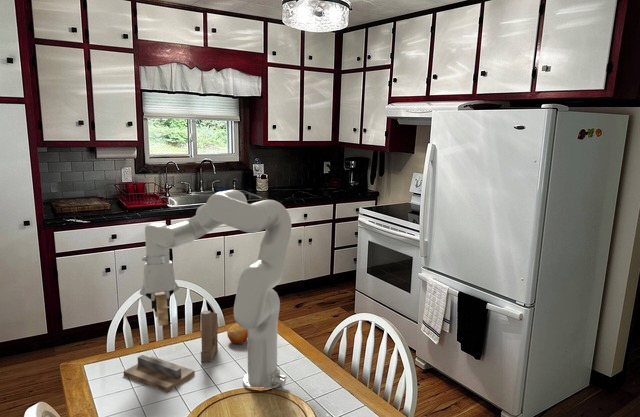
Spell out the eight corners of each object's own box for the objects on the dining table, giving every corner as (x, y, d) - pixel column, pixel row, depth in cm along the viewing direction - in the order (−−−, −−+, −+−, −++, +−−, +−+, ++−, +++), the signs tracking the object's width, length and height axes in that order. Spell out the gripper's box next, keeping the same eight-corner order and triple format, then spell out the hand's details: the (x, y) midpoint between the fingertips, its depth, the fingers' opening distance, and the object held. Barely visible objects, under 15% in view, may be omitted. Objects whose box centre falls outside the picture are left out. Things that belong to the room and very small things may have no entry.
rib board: (194, 374, 155) (194, 362, 154) (167, 392, 144) (166, 378, 143) (152, 360, 164) (151, 348, 163) (123, 375, 153) (123, 362, 153)
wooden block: (217, 348, 173) (217, 303, 171) (211, 362, 163) (210, 314, 160) (208, 348, 174) (207, 302, 171) (200, 362, 163) (199, 314, 160)
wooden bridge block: (163, 312, 169) (161, 288, 167) (168, 324, 158) (167, 299, 157) (154, 313, 167) (153, 289, 166) (159, 325, 157) (157, 300, 155)
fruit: (255, 335, 182) (248, 322, 177) (244, 351, 177) (236, 338, 172) (240, 330, 186) (233, 317, 182) (228, 346, 181) (221, 333, 177)
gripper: (133, 264, 152) (136, 317, 155) (184, 258, 159) (186, 309, 162) (131, 258, 159) (134, 309, 162) (180, 253, 166) (182, 302, 169)
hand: (160, 308), depth 162 cm, fingers closed on wooden bridge block, 3 cm apart
